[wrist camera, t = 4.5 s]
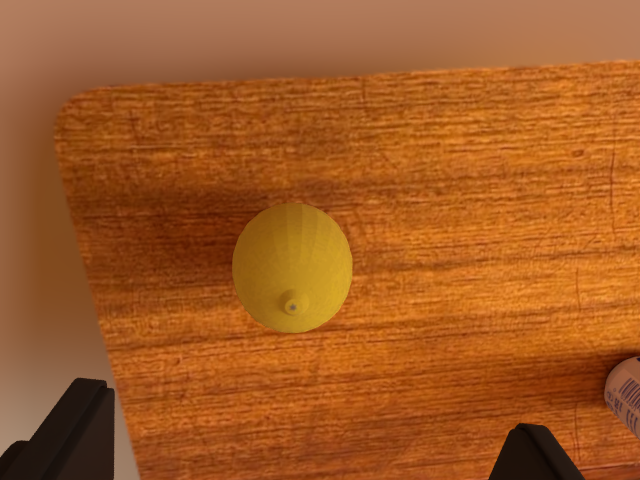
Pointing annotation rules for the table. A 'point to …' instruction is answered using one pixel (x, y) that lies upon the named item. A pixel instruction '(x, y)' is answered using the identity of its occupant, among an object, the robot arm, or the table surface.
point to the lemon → (292, 267)
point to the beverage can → (625, 393)
